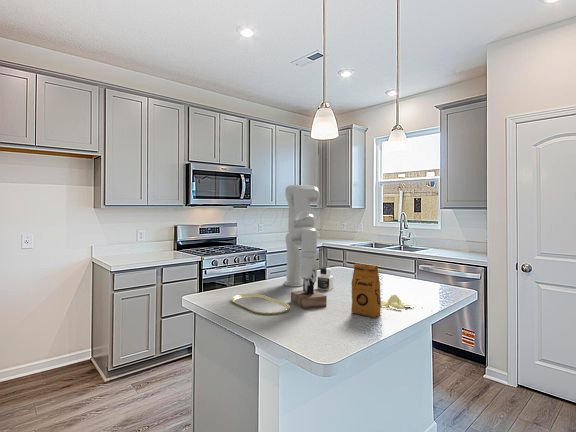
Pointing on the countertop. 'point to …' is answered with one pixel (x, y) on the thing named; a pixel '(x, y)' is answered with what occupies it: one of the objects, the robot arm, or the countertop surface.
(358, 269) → the coffee package
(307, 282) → the pin
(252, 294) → the wavy rubber band
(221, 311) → the countertop surface
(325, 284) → the medicine bottle
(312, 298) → the bore block
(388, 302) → the cloth
